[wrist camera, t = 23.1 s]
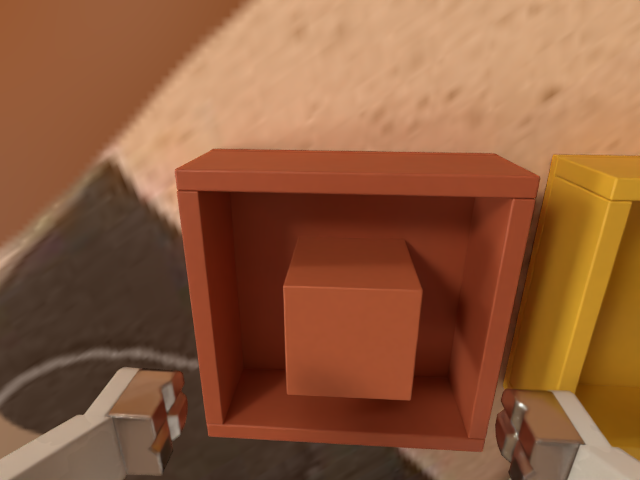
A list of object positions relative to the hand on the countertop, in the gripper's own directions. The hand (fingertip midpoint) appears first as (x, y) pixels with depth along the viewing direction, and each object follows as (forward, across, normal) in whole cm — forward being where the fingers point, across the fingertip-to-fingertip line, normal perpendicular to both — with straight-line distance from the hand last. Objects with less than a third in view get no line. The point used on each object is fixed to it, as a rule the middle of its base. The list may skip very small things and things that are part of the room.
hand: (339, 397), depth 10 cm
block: (+10, 0, +2) cm, 10 cm away
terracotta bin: (+10, 0, +2) cm, 10 cm away
